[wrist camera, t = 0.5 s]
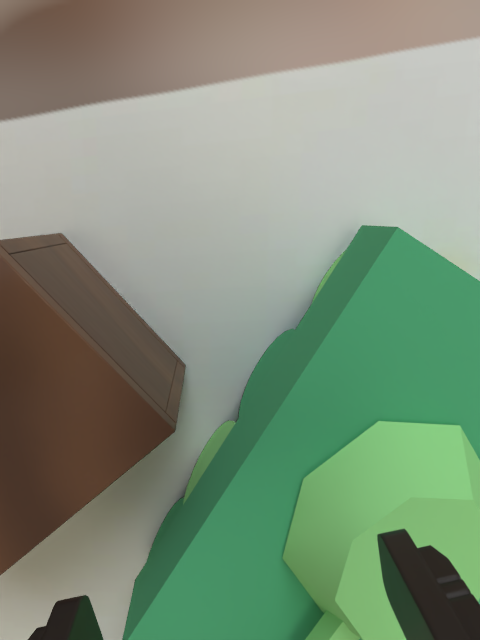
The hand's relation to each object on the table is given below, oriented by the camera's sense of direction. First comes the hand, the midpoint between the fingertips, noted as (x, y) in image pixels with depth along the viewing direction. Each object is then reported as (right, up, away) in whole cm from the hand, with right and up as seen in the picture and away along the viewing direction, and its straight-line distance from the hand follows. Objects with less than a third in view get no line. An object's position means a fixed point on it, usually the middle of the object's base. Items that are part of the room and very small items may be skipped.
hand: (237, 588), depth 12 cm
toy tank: (+5, -6, +21) cm, 23 cm away
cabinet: (-12, +4, +18) cm, 22 cm away
